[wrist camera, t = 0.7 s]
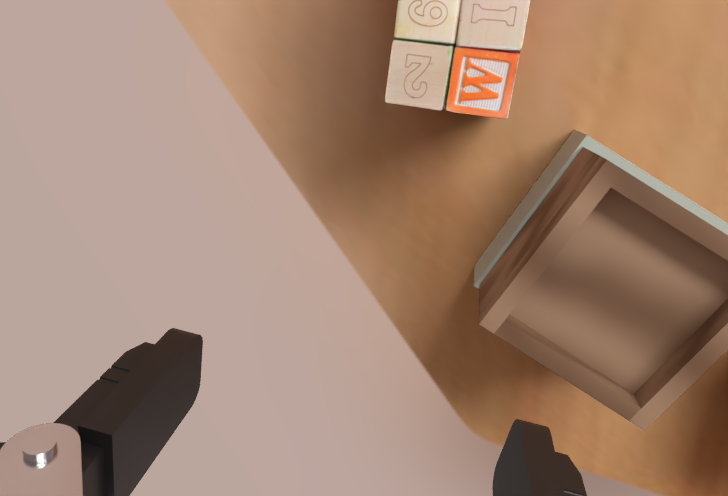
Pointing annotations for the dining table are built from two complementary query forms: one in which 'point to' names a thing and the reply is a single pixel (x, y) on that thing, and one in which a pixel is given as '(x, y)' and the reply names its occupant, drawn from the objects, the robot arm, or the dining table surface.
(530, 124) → the dining table surface
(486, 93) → the stack of blocks
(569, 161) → the tower base
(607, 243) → the wooden box
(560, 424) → the dining table surface
